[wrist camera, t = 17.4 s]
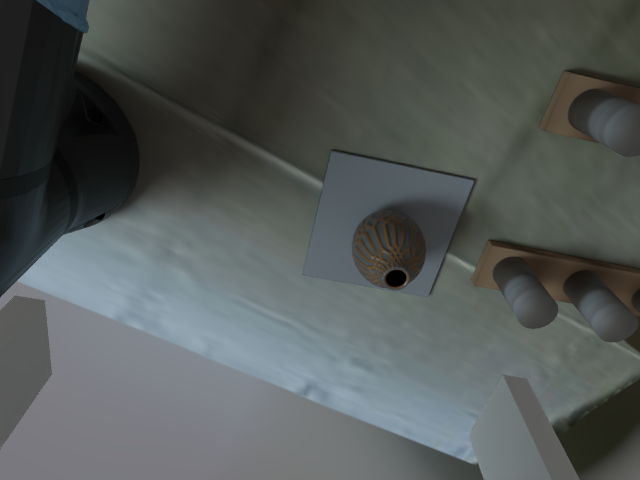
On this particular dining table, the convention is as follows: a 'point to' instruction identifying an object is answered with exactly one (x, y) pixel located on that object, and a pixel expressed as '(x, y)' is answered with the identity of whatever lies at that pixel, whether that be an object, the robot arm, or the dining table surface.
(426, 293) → the mat
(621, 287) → the spacer rack
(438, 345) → the dining table surface
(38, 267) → the dining table surface
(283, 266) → the dining table surface
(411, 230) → the vase
